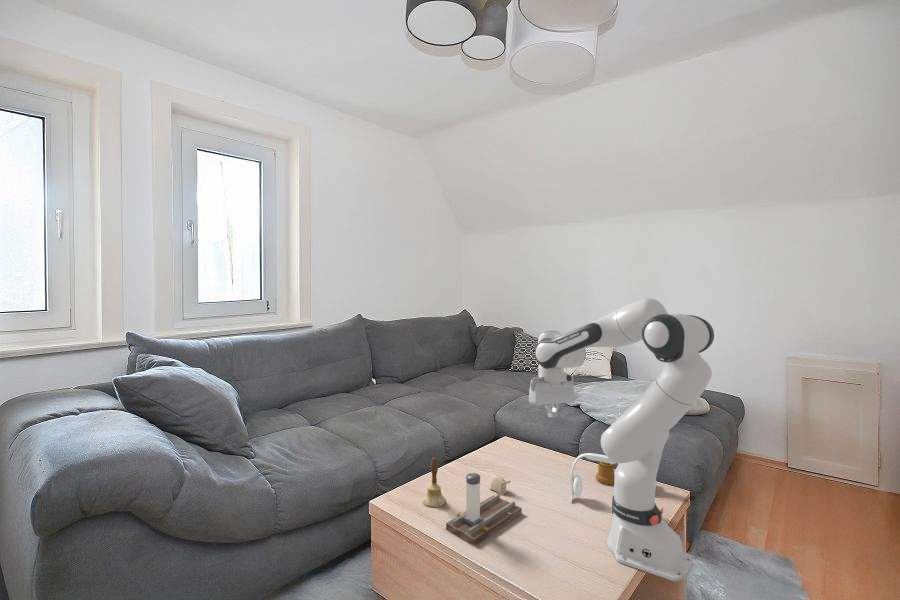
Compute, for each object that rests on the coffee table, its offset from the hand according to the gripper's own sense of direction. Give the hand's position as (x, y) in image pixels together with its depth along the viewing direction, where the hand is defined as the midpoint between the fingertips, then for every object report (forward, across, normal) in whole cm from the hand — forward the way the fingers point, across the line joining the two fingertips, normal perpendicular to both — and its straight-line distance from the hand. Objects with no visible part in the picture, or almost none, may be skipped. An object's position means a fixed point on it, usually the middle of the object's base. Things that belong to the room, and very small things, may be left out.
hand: (552, 416), depth 153 cm
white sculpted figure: (+28, +38, -11) cm, 49 cm away
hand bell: (+30, -30, +30) cm, 52 cm away
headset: (+30, +15, -6) cm, 35 cm away
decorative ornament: (+28, -6, +21) cm, 36 cm away
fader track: (+32, -24, +10) cm, 41 cm away
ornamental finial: (+27, +32, +2) cm, 42 cm away
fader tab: (+31, -30, +9) cm, 44 cm away
